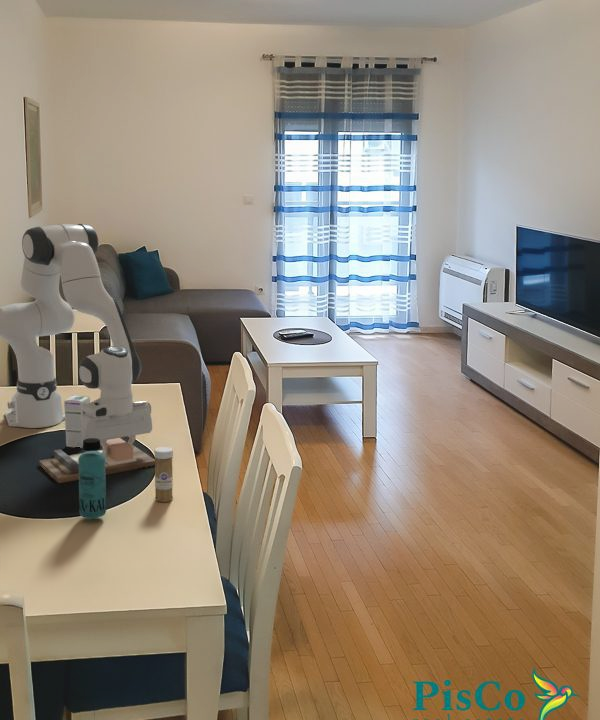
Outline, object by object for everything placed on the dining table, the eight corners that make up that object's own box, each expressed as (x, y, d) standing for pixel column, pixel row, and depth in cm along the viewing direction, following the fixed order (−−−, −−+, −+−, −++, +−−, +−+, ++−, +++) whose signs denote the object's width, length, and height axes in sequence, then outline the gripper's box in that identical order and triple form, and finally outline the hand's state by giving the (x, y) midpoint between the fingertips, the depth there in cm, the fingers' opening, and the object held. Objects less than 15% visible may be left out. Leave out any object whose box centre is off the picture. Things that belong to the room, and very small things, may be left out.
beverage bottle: (81, 514, 219) (78, 435, 215) (109, 513, 220) (107, 435, 215) (77, 524, 213) (74, 443, 209) (105, 524, 214) (103, 443, 209)
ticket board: (39, 465, 252) (38, 451, 251) (132, 449, 267) (132, 436, 266) (58, 483, 239) (58, 469, 238) (156, 465, 254) (155, 451, 253)
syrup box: (84, 448, 267) (82, 401, 264) (65, 446, 268) (63, 399, 265) (92, 442, 272) (90, 396, 269) (73, 441, 273) (72, 394, 270)
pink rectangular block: (93, 453, 258) (92, 440, 257) (119, 449, 262) (119, 435, 261) (109, 466, 248) (109, 452, 247) (136, 461, 253) (136, 447, 252)
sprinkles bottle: (157, 503, 227) (157, 452, 224) (152, 497, 231) (152, 447, 228) (175, 501, 229) (175, 450, 226) (170, 495, 233) (169, 445, 230)
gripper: (146, 397, 261) (146, 443, 264) (77, 407, 250) (79, 454, 253) (155, 402, 256) (156, 449, 259) (86, 412, 244) (87, 461, 248)
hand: (117, 452), depth 256 cm, fingers closed on pink rectangular block, 5 cm apart
